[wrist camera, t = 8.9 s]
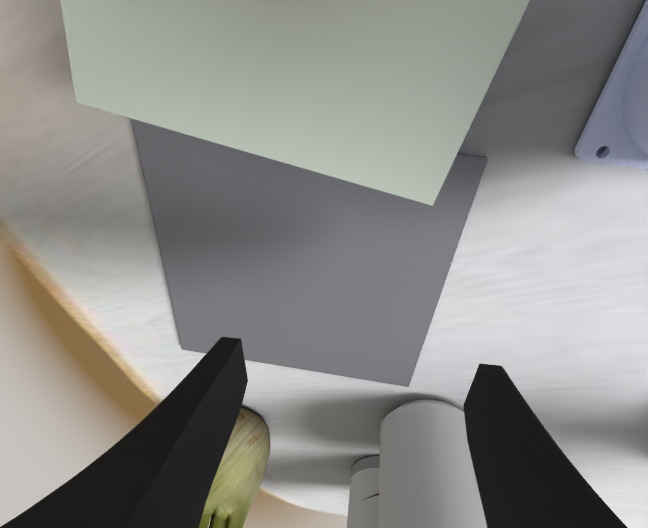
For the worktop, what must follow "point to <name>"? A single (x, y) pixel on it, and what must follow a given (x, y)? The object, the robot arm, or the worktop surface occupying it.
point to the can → (427, 469)
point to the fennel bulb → (238, 473)
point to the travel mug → (364, 494)
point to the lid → (300, 77)
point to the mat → (300, 256)
